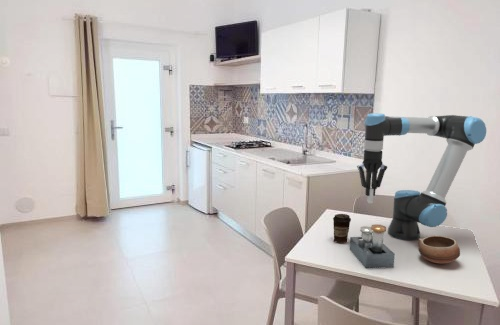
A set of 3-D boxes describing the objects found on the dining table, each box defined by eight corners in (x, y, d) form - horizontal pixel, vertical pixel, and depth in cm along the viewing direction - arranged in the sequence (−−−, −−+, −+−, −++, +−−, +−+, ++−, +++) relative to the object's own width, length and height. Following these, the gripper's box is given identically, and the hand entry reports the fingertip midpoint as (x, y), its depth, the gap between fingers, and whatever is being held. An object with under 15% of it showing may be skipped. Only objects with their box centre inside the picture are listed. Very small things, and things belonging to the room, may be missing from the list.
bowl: (412, 252, 171) (414, 232, 169) (447, 253, 171) (449, 232, 169) (426, 269, 156) (429, 246, 154) (465, 270, 155) (468, 247, 153)
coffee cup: (349, 245, 178) (351, 219, 176) (331, 243, 180) (333, 217, 177) (348, 238, 187) (350, 213, 184) (331, 237, 188) (333, 212, 186)
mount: (374, 248, 175) (375, 236, 174) (393, 267, 157) (394, 254, 155) (349, 249, 174) (350, 237, 173) (365, 268, 155) (366, 254, 154)
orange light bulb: (380, 246, 162) (382, 224, 160) (386, 252, 156) (388, 229, 154) (367, 247, 161) (369, 224, 159) (373, 253, 156) (374, 229, 154)
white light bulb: (369, 247, 174) (370, 226, 172) (374, 252, 168) (376, 230, 166) (357, 247, 173) (358, 226, 171) (361, 253, 167) (363, 231, 165)
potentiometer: (363, 243, 165) (363, 238, 165) (365, 246, 162) (366, 240, 162) (357, 244, 165) (357, 238, 164) (359, 246, 162) (359, 240, 162)
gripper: (384, 148, 166) (380, 199, 170) (355, 148, 165) (352, 200, 169) (392, 151, 159) (387, 204, 163) (362, 151, 157) (358, 205, 162)
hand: (369, 202), depth 166 cm, fingers closed
